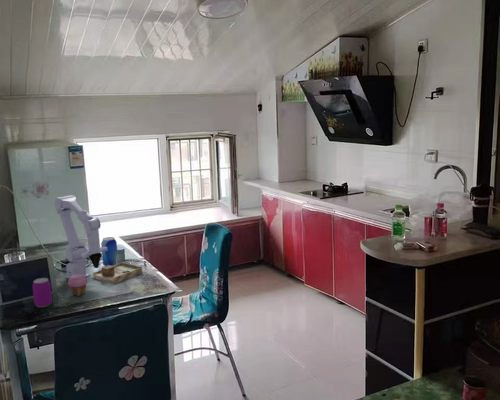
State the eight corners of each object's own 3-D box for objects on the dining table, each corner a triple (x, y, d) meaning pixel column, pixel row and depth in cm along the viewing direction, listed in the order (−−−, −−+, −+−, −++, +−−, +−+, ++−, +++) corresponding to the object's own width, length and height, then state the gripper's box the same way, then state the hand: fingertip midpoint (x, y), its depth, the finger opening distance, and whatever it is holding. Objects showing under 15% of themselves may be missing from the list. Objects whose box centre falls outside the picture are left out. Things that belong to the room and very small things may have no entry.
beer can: (109, 268, 281) (107, 241, 278) (100, 266, 286) (97, 239, 283) (121, 264, 288) (119, 237, 285) (112, 262, 293) (109, 235, 290)
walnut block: (107, 277, 262) (107, 269, 261) (102, 275, 264) (101, 267, 264) (114, 274, 265) (113, 266, 265) (109, 273, 268) (108, 265, 267)
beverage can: (55, 301, 237) (52, 277, 235) (48, 307, 229) (45, 283, 227) (39, 301, 237) (36, 277, 235) (31, 308, 230) (28, 283, 227)
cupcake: (79, 298, 239) (77, 278, 237) (65, 296, 243) (63, 276, 241) (92, 292, 247) (90, 272, 245) (78, 289, 251) (76, 270, 249)
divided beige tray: (113, 283, 258) (112, 277, 257) (93, 277, 267) (93, 271, 267) (142, 272, 273) (141, 266, 273) (122, 267, 283) (122, 261, 282)
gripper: (86, 246, 247) (89, 272, 250) (110, 239, 259) (112, 264, 261) (77, 244, 251) (80, 270, 254) (101, 237, 263) (103, 262, 266)
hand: (96, 267), depth 258 cm, fingers closed
